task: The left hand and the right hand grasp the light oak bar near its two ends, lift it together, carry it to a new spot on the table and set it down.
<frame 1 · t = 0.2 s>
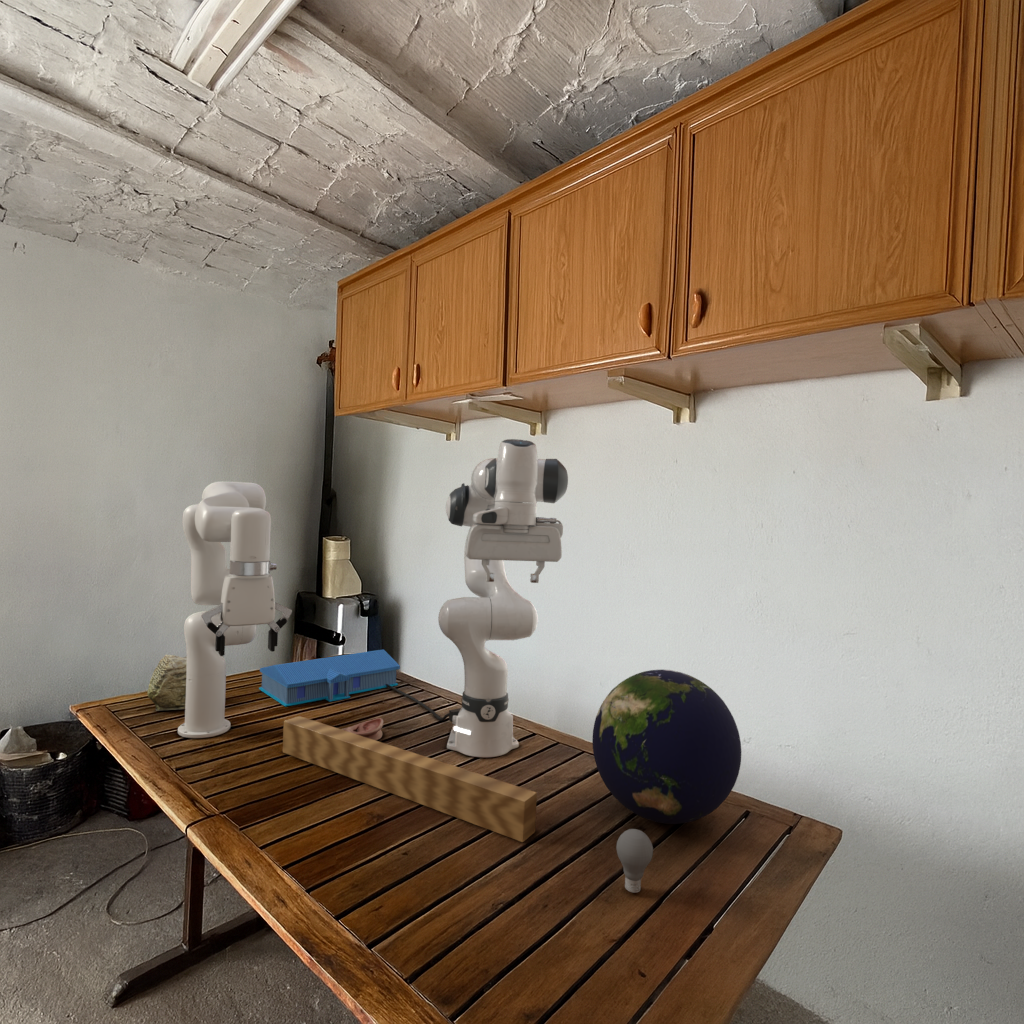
left hand: (246, 652, 130), 31 cm above the table, tool pointing down, fingers open, 9 cm apart
right hand: (512, 582, 133), 47 cm above the table, tool pointing down, fingers open, 8 cm apart
model building: (332, 688, 208), on the table
globe: (661, 816, 132), on the table
bar: (394, 787, 139), on the table
anatomical model: (355, 737, 167), on the table
fossil: (183, 706, 185), on the table
light bulb: (632, 891, 106), on the table
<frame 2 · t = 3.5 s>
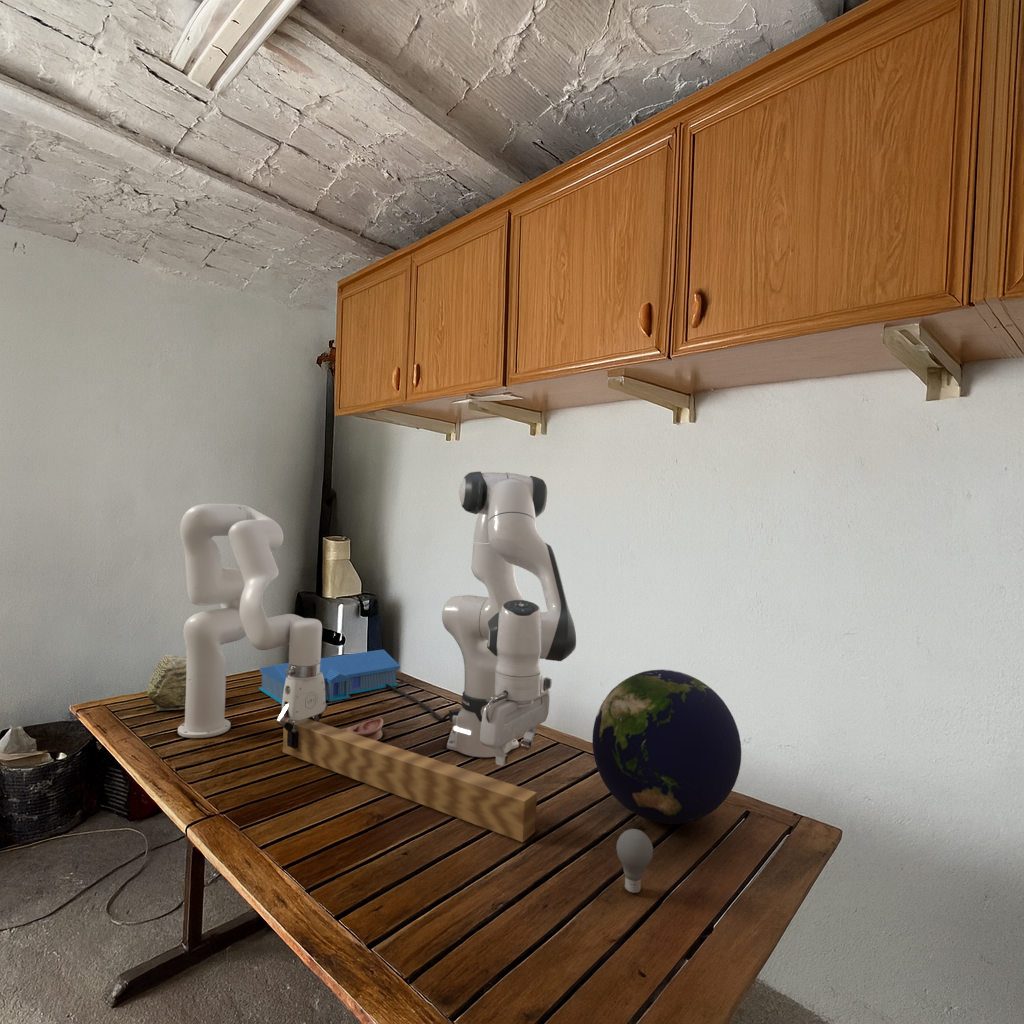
left hand: (301, 742, 155), 3 cm above the table, tool pointing down, fingers closed on bar, 4 cm apart
right hand: (514, 756, 123), 15 cm above the table, tool pointing down, fingers open, 8 cm apart
bar: (394, 787, 139), on the table, touching left hand
everything else where it was.
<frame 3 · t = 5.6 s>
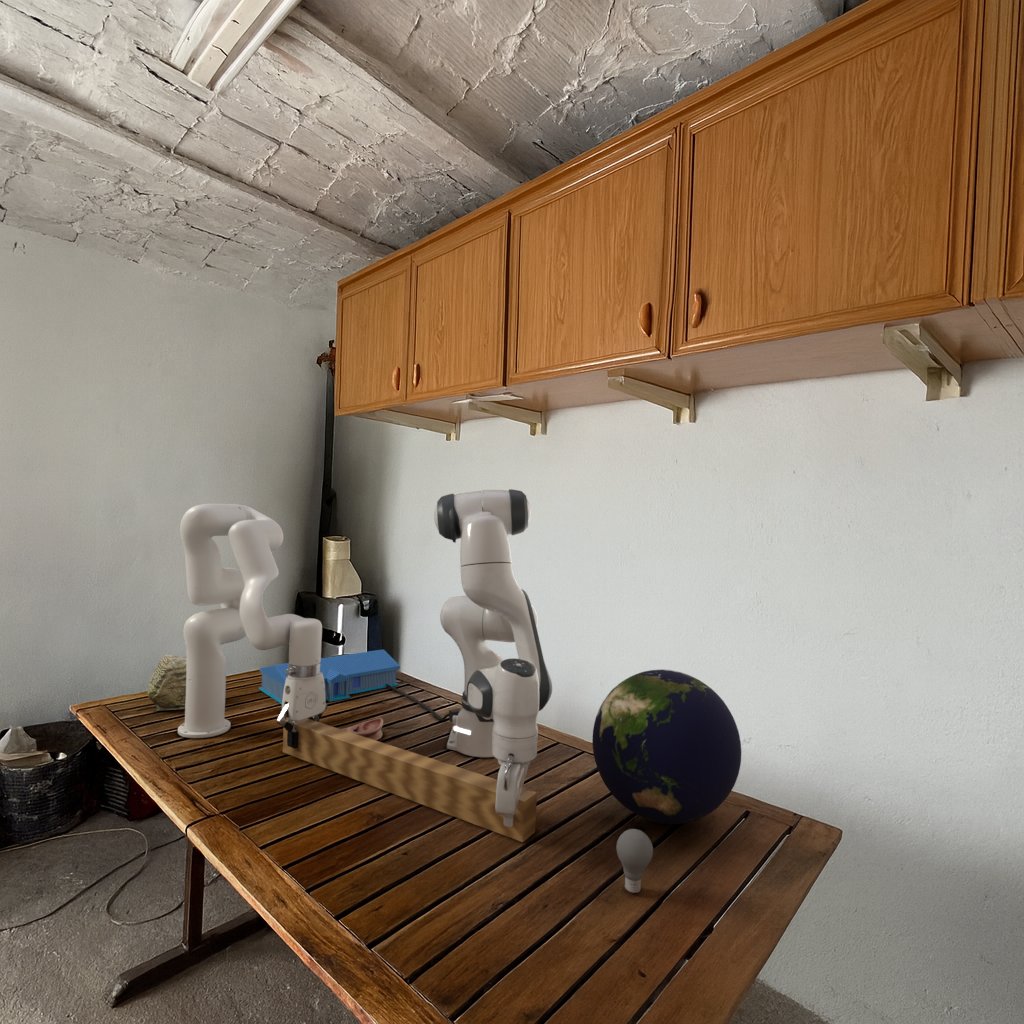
left hand: (301, 742, 155), 3 cm above the table, tool pointing down, fingers closed on bar, 4 cm apart
right hand: (511, 815, 124), 3 cm above the table, tool pointing down, fingers closed on bar, 6 cm apart
bar: (394, 787, 139), on the table, touching left hand, right hand
everything else where it was.
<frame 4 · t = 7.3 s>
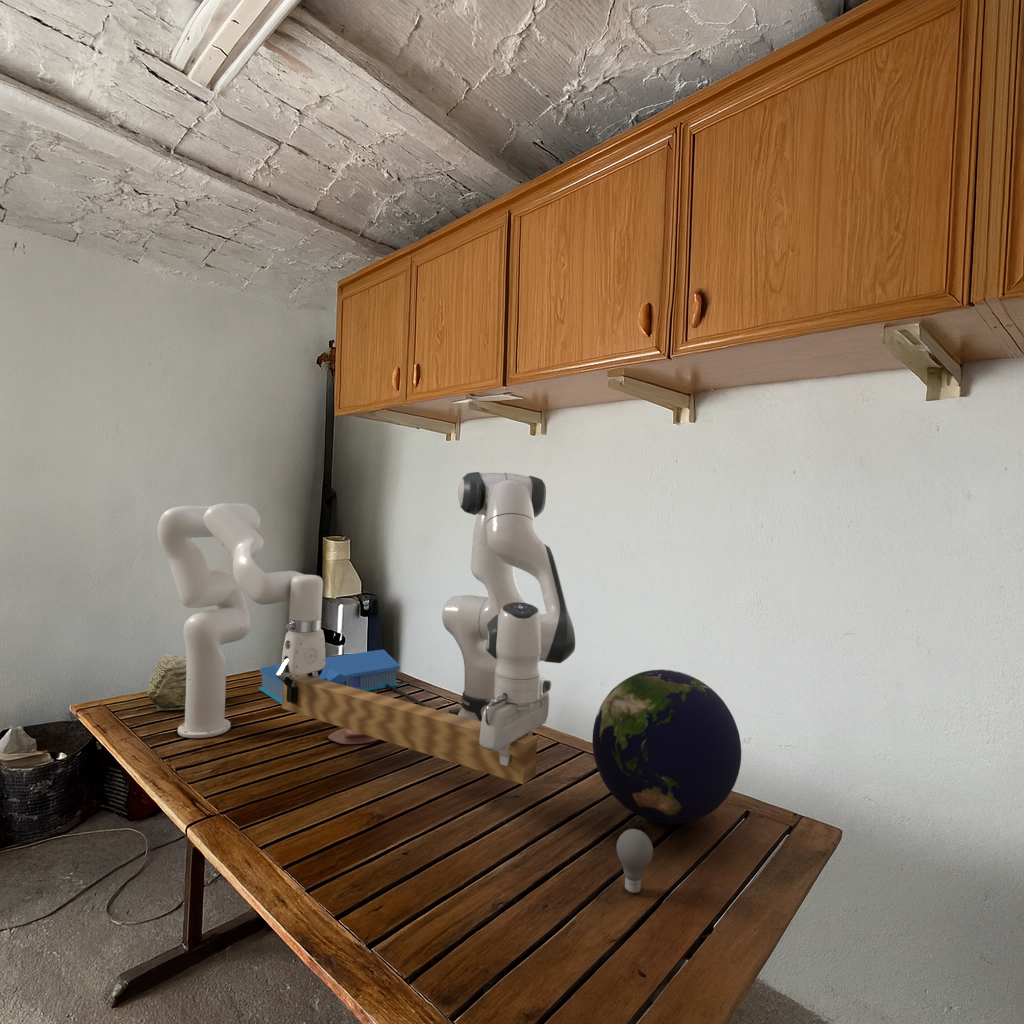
left hand: (301, 698, 155), 13 cm above the table, tool pointing down, fingers closed on bar, 4 cm apart
right hand: (514, 758, 123), 14 cm above the table, tool pointing down, fingers closed on bar, 5 cm apart
bar: (394, 738, 139), point 11 cm above the table, touching left hand, right hand
everything else where it was.
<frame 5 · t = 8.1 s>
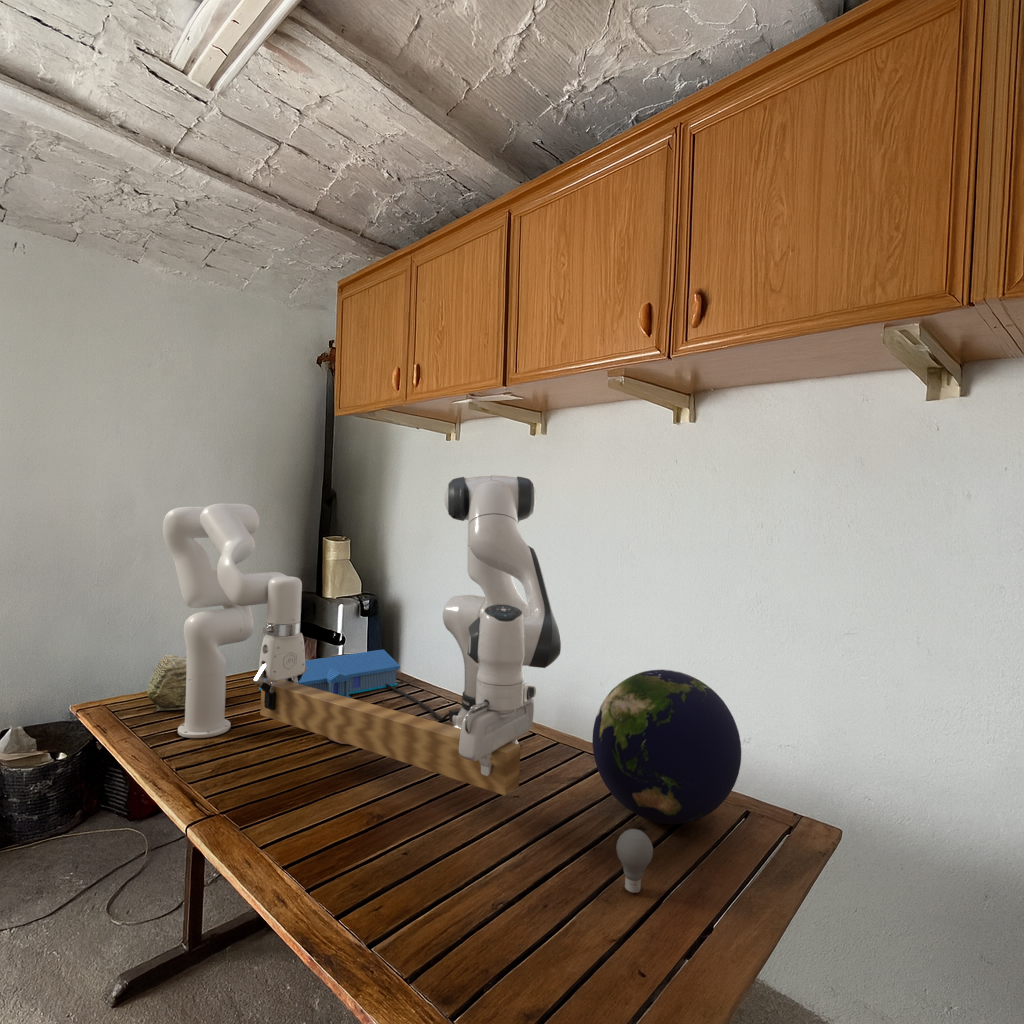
left hand: (279, 704, 150), 14 cm above the table, tool pointing down, fingers closed on bar, 4 cm apart
right hand: (496, 768, 118), 14 cm above the table, tool pointing down, fingers closed on bar, 5 cm apart
bar: (374, 746, 134), point 11 cm above the table, touching left hand, right hand
everything else where it was.
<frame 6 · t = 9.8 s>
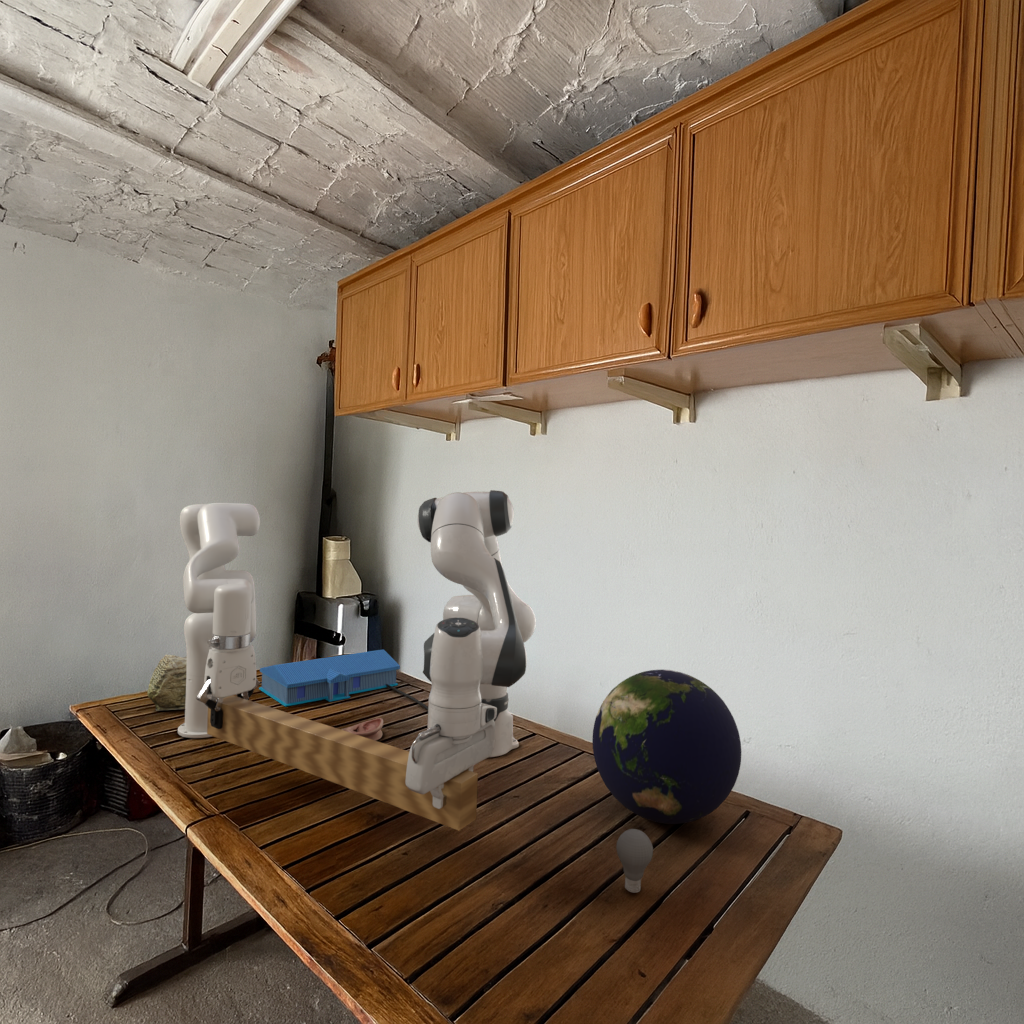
left hand: (228, 722, 139), 13 cm above the table, tool pointing down, fingers closed on bar, 4 cm apart
right hand: (450, 799, 106), 14 cm above the table, tool pointing down, fingers closed on bar, 5 cm apart
bar: (323, 770, 123), point 10 cm above the table, touching left hand, right hand
everything else where it was.
when the left hand's fingers open (4 cm above the table, at t = 11.1 s): bar stays where it is, on the table.
when the right hand's fingers open (4 cm above the table, at t = 11.2 s): bar stays where it is, on the table.
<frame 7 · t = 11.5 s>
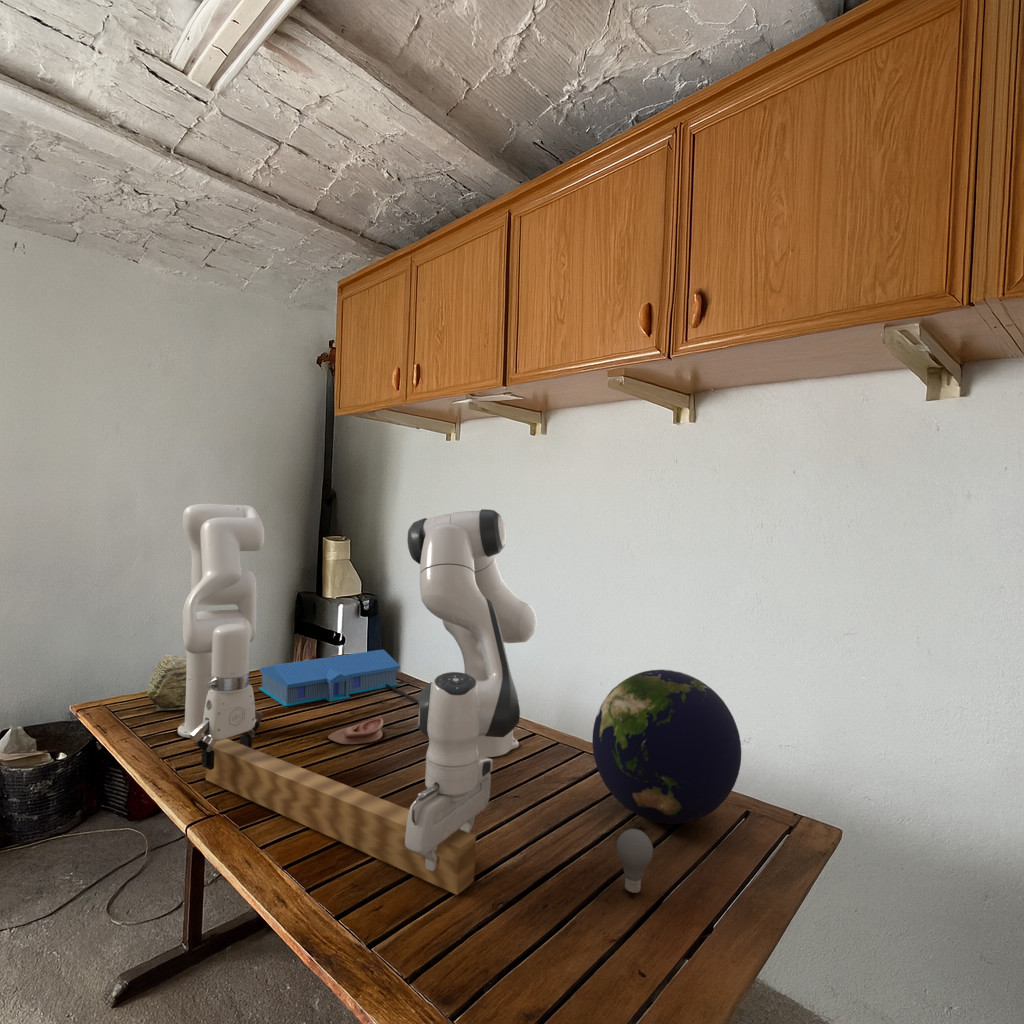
left hand: (227, 760, 138), 5 cm above the table, tool pointing down, fingers open, 8 cm apart
right hand: (448, 854, 106), 4 cm above the table, tool pointing down, fingers open, 8 cm apart
bar: (322, 823, 123), on the table
everything else where it was.
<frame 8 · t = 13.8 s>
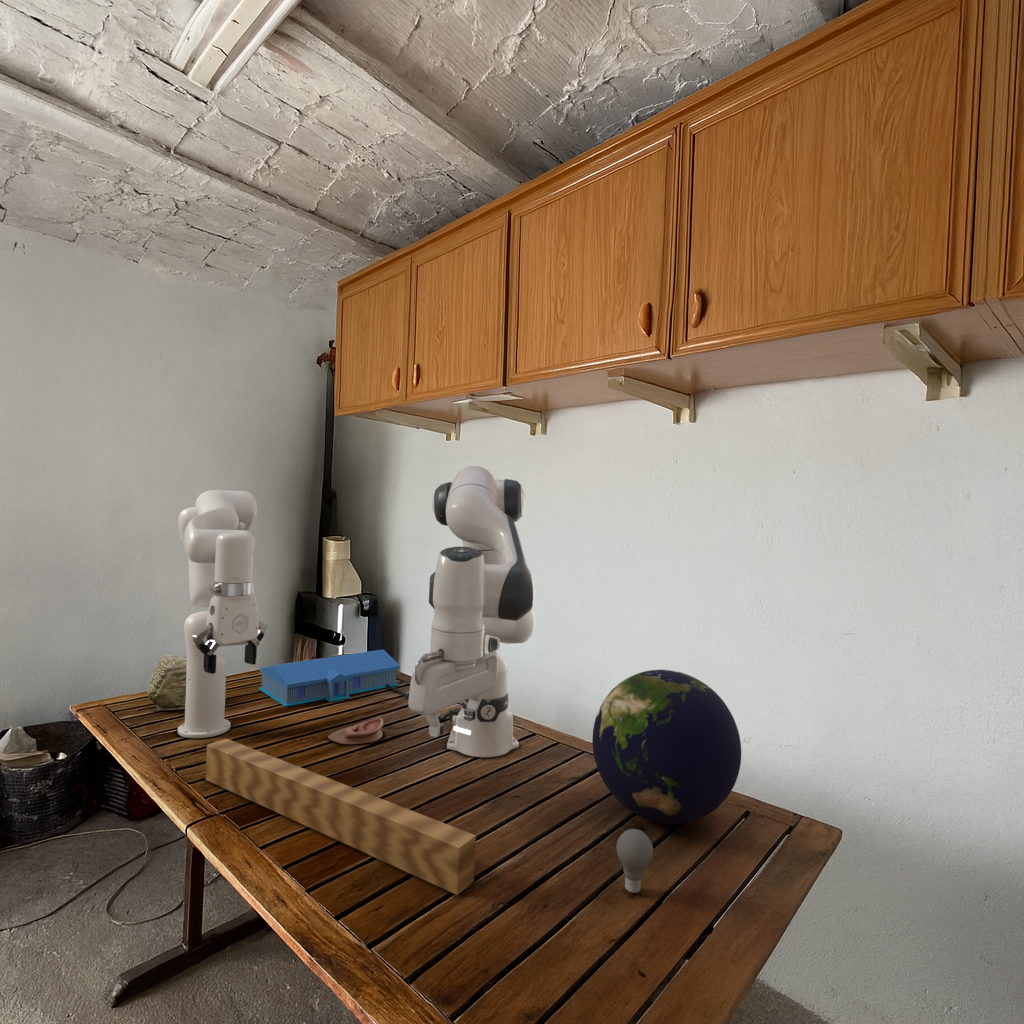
left hand: (230, 667, 138), 25 cm above the table, tool pointing down, fingers open, 9 cm apart
right hand: (453, 727, 106), 26 cm above the table, tool pointing down, fingers open, 8 cm apart
nothing on the table moved.
at the end: bar inside the target area (0.5 cm from its centre), on the table; bar tilted 0°; bar never tilted more than 1° during the clip; both hands held the bar at the same time; the left hand is holding nothing; the right hand is holding nothing; bar at rest at the end (0.0 cm/s) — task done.
